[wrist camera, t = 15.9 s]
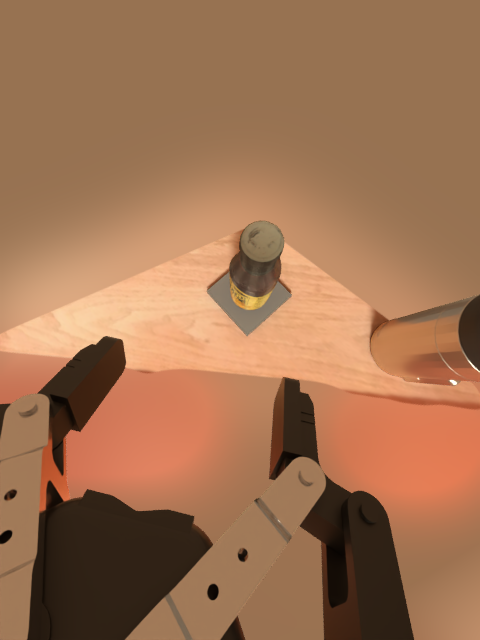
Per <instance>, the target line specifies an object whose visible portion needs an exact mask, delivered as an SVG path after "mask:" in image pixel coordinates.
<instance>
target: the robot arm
mask: <svg viewBox="0 0 480 640" xmlns="http://www.w3.org/2000/svg"><path fill="white" fill-rule="evenodd" d="M370 349H371V354H372V356H373V359H374V361H375V362H376V364H377V365H378V366H379V367H380V368H381V369H382V370H383V371H385V372H386V373H388V374H391V375H393V376H398V377H402V378H403V379H404V380H405V381H406V382H416V383H427V384H437V385H448V386H456V385H458V384H459V383H460V382H461V381H469V382H480V294H479V295H476V296H472V297H469V298H466V299H463V300H459V301H456V302H452V303H449V304H445V305H442V306H439V307H435V308H432V309H428V310H425V311H422V312H418V313H415V314H412V315H408V316H405V317H401V318H398V319H393V320H390V321H387V322H385V323H383V324H381V325H380V326H379V327H377V329H376V330H375V331H374V333H373V335H372V338H371V342H370ZM125 365H126V359H125V352H124V346H123V341H122V340H121V339H117V338H112V337H108V336H105V337H103V338H102V339H101V340H100V341H99V342H98V343H97V344H96V345H94V344H91V345H89V346H87V347H86V348H84V349H82V350H80V351H79V352H78V353H77V354H76V355H75V356H74V357H73V359H72V360H70V361H69V362H68V363H67V364H66V367H63V368H62V369H61V370H60V372H58V373H57V374H56V375H55V376H54V377H53V378H52V379H51V380H50V381H49V382H48V383H47V384H46V385H45V386H44V387H43V389H41V390H40V391H39V392H38V393H37V394H30V395H26V396H24V397H21V398H19V399H18V400H16V401H14V402H13V403H12V404H0V640H245V637H244V634H243V631H242V628H241V625H240V622H239V619H238V614H239V612H240V611H241V609H242V608H243V607H244V605H245V603H246V602H247V601H248V599H249V598H250V597H251V595H252V594H253V592H254V591H255V590H256V588H257V587H258V585H259V584H260V582H261V581H262V580H263V578H264V577H265V575H266V574H267V572H268V571H269V569H270V568H271V567H272V565H273V564H274V563H275V561H276V560H277V558H278V557H279V555H280V554H281V552H282V551H283V549H284V548H285V547H286V545H287V544H288V542H289V541H290V539H291V537H292V536H293V534H294V533H295V531H296V530H297V529H298V527H299V526H300V527H302V528H303V529H304V530H306V531H307V532H309V533H310V534H312V535H313V536H314V537H316V538H317V539H319V540H320V541H321V549H322V584H323V615H324V616H323V618H324V640H414V637H413V633H412V628H411V623H410V618H409V614H408V609H407V604H406V599H405V595H404V590H403V585H402V580H401V576H400V571H399V566H398V562H397V557H396V552H395V548H394V542H393V538H392V533H391V528H390V523H389V519H388V516H387V513H386V511H385V510H384V507H383V506H382V505H381V503H380V502H379V501H378V500H377V499H376V498H375V497H374V496H372V495H371V494H369V493H367V492H364V491H356V492H354V493H350V492H349V491H347V490H345V489H344V488H342V487H340V486H339V485H337V484H335V483H334V482H332V481H331V480H330V479H329V478H328V477H327V476H326V475H325V473H324V472H323V470H322V469H321V467H320V464H319V461H318V453H317V441H316V430H315V419H314V418H315V417H314V406H313V403H312V401H311V399H310V397H309V395H308V394H305V393H301V392H300V383H299V380H295V379H291V378H286V377H283V379H282V381H281V384H280V387H279V389H278V392H277V395H276V398H275V402H274V409H273V426H272V440H271V456H270V457H271V458H270V472H269V479H272V480H275V481H274V482H273V483H272V484H271V485H270V486H269V488H268V489H267V490H266V491H265V492H264V493H263V494H262V495H261V496H260V498H258V499H256V500H254V501H253V502H252V503H251V504H250V505H249V506H248V507H247V509H246V510H245V511H244V512H243V513H242V514H241V515H240V516H239V517H238V518H237V520H236V521H235V522H234V523H233V524H232V525H231V526H230V527H229V528H228V529H227V531H226V532H225V533H224V534H223V535H222V536H221V537H220V538H219V540H217V542H216V543H215V544H214V545H213V544H212V542H211V540H210V539H209V537H208V536H207V535H206V534H205V532H204V531H202V530H201V529H200V528H199V527H198V526H196V525H195V524H193V523H194V516H190V515H187V514H183V513H179V512H175V511H171V510H153V511H135V510H133V509H132V508H131V507H129V506H128V505H126V504H125V503H123V502H122V501H120V500H119V499H117V498H115V497H114V496H111V495H108V494H104V493H100V492H96V491H92V490H88V489H87V491H86V492H85V494H84V496H83V497H79V498H74V499H70V493H69V488H68V483H67V456H66V435H67V434H68V432H69V431H70V430H75V431H79V432H80V431H81V430H82V429H83V427H84V426H85V424H86V423H87V422H88V420H89V419H90V417H91V416H92V415H93V413H94V412H95V411H96V409H97V408H98V406H99V405H100V404H101V402H102V401H103V400H104V398H105V397H106V395H107V394H108V393H109V391H110V390H111V388H112V387H113V386H114V384H115V383H116V381H117V380H118V379H119V377H120V376H121V375H122V373H123V371H124V369H125Z"/></svg>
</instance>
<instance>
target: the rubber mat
mask: <svg viewBox="0 0 480 640" xmlns="http://www.w3.org/2000/svg"><path fill="white" fill-rule="evenodd" d="M229 277H230V276H229V272H228V273H227V274H226V275H225V276H224V277H222V278H221V279H220V280H219V281H218V282H216V283H215V284H214V285H213V286H212V287H211V288H209V289H208V290H207V293H208V294H209V295H210V296H211V297H212V298H213V299H214V301H215V302H216V303H217V304H218V305H219V306H220V307H221V308H222V309H223V310H224V312H225V313H226V314H227V315H228V316H229V317H230V318H231V319H232V320H233V321H234V322H235V324H236V325H237V326H238V327H239V328H240V329H241V330H242V331H243V332H244V333H245V334H246V336H248V335H249V334H250V333H251V332H252V331H254V330H255V329H256V328H257V327H258V326H259V325H260V324H261V323H262V322H263V321H265V320H266V319H267V318H268V317H269V316H270V315H271V314H272V313H273V312H275V311H276V310H277V309H278V308H279V307H280V306H281V305H282V304H283V303H284V302H286V301H287V300H288V299H289V298H290V297H291V296H292V295H291V294H290V293H289V292H288V291H287V290H286V289H285V288H284V286H283V285H282V284H281V283H280V282H279V281H277V284H276V286H275V288H274V289H273V291H272V293H271V294H270V296H269V298H268V299H267V301H266V302H265V304H264V305H263V306H262V307H260V308H258V309H255V310H245V309H242V308H240V307H238V305H236V304H235V302H234V301H233V299H232V297H231V292H230V278H229Z"/></svg>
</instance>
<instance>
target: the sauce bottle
mask: <svg viewBox="0 0 480 640" xmlns="http://www.w3.org/2000/svg"><path fill="white" fill-rule="evenodd" d="M283 247H284V237H283V235H282V233H281V231H280V229H279V228H278V227H277V226H276V225H274V224H272V223H270V222H267V221H257V222H253V223H251V224H249V225H248V226H247V227H246V228H245V229H244V231H243V233H242V234H241V237H240V243H239V249H240V252H239V253H238V254H237V255H235V256H234V257H233V259H232V260H231V263H230V267H229V276H230V277H229V278H230V292H231V297H232V299H233V301H234V302H235V304H236V305H238V307H240V308H242V309H245V310H255V309H258V308H260V307H262V306H263V305H264V304H265V302H266V301H267V299H268V298H269V296H270V294H271V293H272V291H273V289H274V288H275V286H276V284H277V281H278V279H279V277H280V274H281V261H280V255H281V253H282V250H283Z"/></svg>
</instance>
